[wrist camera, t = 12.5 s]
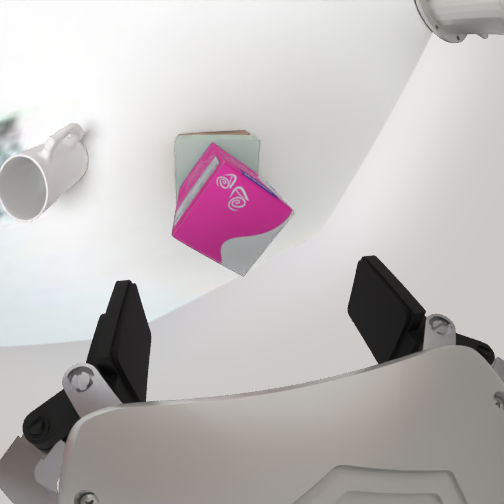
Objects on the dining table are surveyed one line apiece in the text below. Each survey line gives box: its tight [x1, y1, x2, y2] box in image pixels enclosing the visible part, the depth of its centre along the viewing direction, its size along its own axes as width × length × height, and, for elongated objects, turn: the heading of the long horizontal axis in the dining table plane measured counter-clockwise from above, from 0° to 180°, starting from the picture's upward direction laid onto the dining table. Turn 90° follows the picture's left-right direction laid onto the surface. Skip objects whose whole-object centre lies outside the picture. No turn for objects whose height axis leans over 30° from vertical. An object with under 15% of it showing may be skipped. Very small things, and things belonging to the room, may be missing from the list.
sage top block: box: [175, 135, 260, 205], centre depth 29 cm, size 8×8×4 cm
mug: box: [0, 123, 88, 222], centre depth 24 cm, size 10×7×12 cm, turn 133°
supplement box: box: [172, 142, 294, 276], centre depth 22 cm, size 6×6×12 cm
